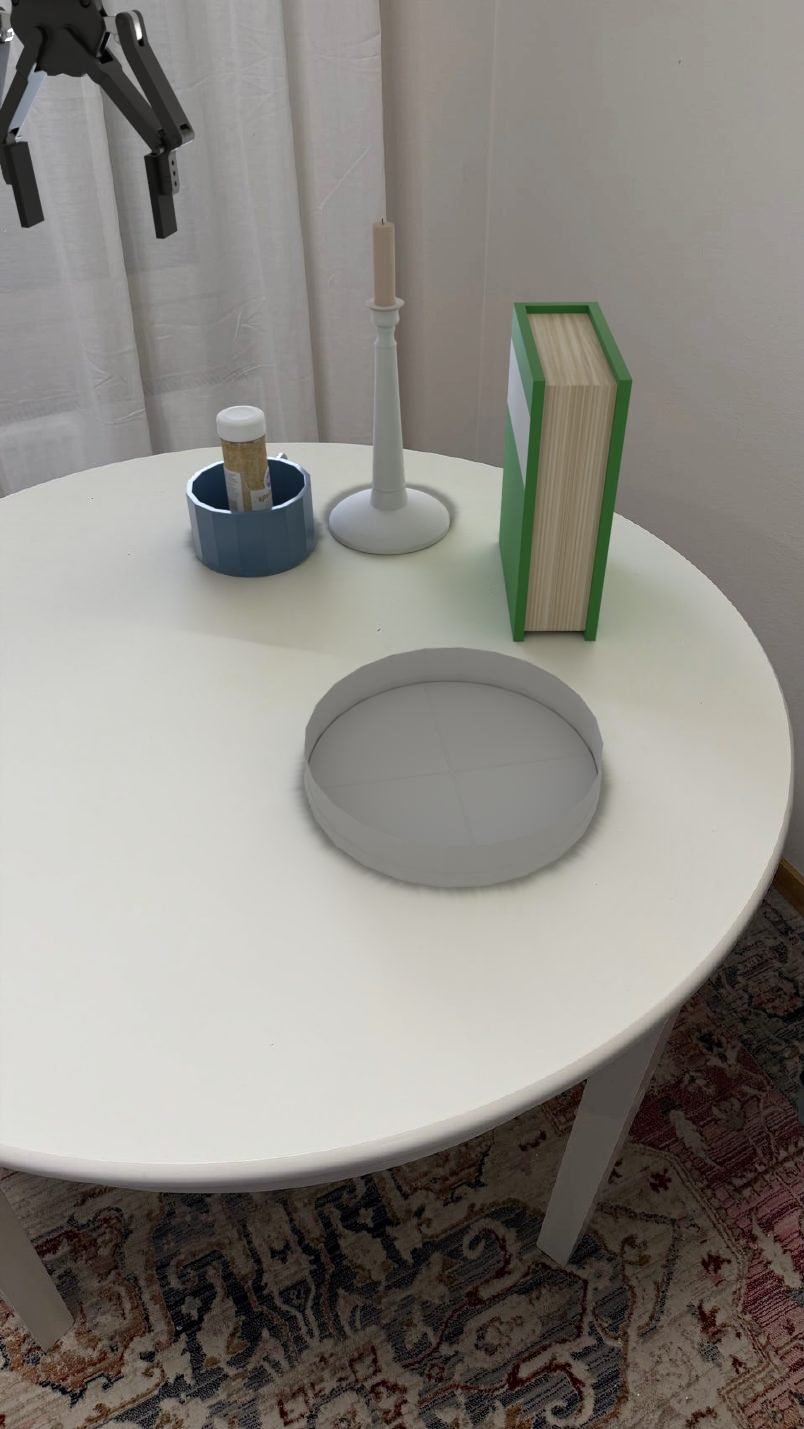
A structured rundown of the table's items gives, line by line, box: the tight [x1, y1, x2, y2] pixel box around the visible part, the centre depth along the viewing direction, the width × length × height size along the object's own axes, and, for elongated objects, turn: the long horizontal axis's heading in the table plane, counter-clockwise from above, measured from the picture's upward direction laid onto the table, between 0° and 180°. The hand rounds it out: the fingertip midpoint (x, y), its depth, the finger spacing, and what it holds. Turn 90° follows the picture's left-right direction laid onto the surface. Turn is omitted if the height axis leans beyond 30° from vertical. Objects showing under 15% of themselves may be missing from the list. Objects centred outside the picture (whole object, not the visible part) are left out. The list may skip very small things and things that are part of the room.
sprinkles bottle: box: [215, 405, 273, 512], centre depth 99 cm, size 5×5×13 cm
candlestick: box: [328, 218, 451, 555], centre depth 97 cm, size 13×13×30 cm
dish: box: [303, 646, 604, 888], centre depth 75 cm, size 22×22×5 cm
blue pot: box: [185, 452, 316, 578], centre depth 103 cm, size 15×12×7 cm
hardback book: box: [498, 301, 633, 642], centre depth 90 cm, size 18×7×24 cm, turn 0°
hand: (99, 230), depth 91 cm, fingers open, 13 cm apart
